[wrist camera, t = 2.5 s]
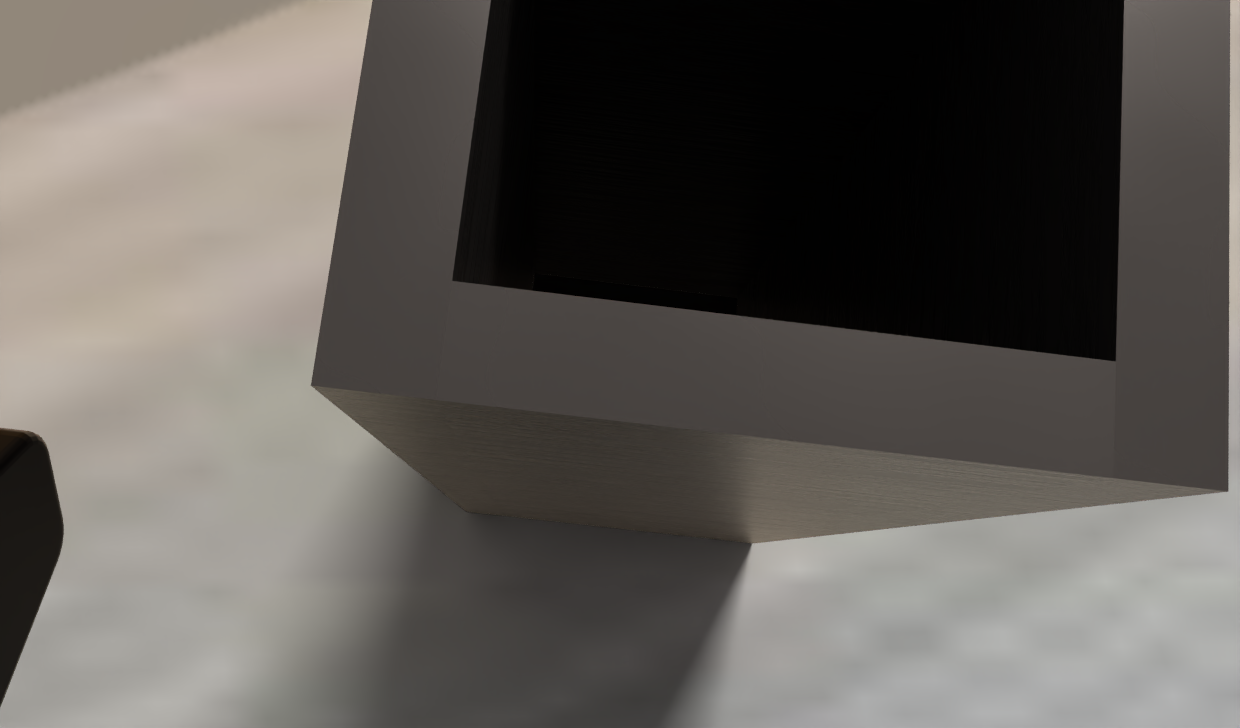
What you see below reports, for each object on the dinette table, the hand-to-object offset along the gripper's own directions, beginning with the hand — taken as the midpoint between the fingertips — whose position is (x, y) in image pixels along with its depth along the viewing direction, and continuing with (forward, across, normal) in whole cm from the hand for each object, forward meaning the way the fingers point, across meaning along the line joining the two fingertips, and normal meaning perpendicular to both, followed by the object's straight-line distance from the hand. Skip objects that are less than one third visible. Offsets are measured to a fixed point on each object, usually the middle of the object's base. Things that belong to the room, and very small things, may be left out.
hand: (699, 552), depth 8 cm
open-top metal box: (+9, 0, +5) cm, 10 cm away
